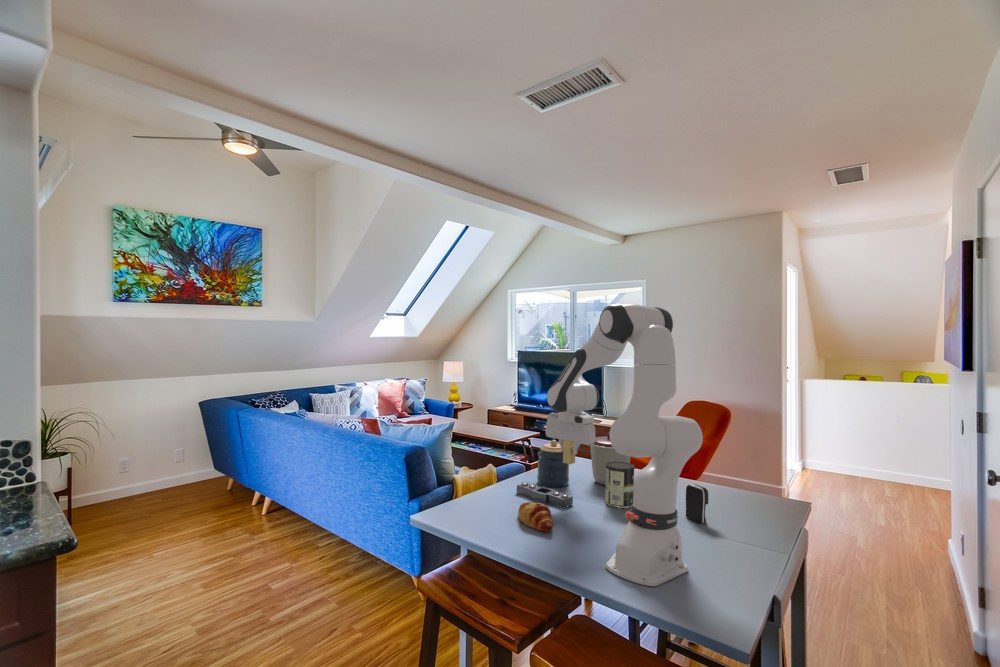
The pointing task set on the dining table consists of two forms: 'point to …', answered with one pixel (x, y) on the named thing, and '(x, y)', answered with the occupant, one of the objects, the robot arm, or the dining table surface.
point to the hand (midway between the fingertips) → (569, 452)
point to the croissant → (536, 516)
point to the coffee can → (619, 484)
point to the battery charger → (696, 502)
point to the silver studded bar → (544, 494)
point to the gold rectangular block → (568, 452)
